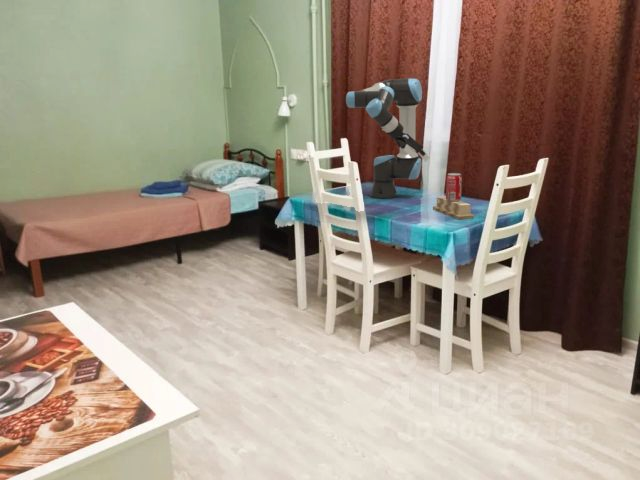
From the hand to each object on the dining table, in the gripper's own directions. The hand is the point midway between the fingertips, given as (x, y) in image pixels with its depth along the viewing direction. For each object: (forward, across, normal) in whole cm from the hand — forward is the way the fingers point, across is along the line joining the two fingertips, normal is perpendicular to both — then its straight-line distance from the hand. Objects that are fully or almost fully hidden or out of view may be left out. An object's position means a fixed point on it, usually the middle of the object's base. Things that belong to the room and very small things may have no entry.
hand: (420, 157), depth 246 cm
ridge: (+30, +8, -9) cm, 32 cm away
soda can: (+25, +8, -5) cm, 27 cm away
